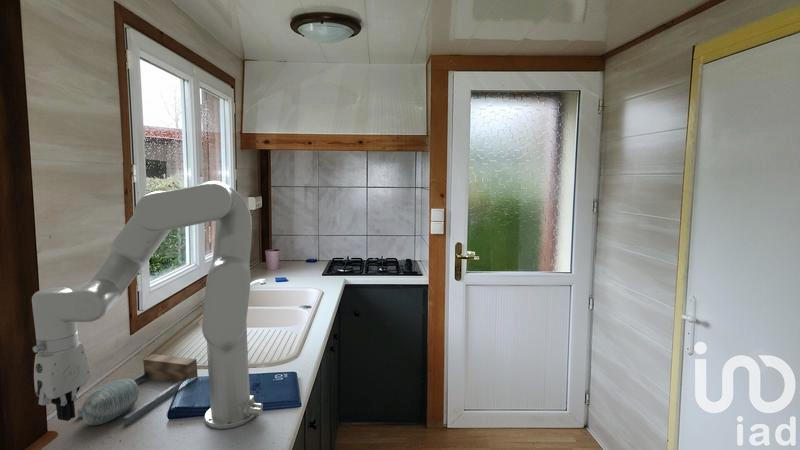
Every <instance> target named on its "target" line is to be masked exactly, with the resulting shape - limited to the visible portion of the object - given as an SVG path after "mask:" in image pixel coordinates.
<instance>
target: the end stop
mask: <svg viewBox="0 0 800 450" xmlns="http://www.w3.org/2000/svg"><path fill="white" fill-rule="evenodd" d="M197 361H198V360H197V358H192V357H190V358H189V357H182V356H172V355H162V354H156V353H153V354H150V355H148V356H147V357H146V358H145V357H144V358H143V361H142V363H143V373H144V372H147V373H148V379H147V380H154V381H163V382H168V383H169V382H171V383H177V382H178V381H180V380H181V379H183V378H184V377H187V378H188V379H191V378H194V377H198V365H197V364H198V363H197ZM198 378H199V377H198Z"/></svg>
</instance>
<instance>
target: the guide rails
mask: <svg viewBox="0 0 800 450" xmlns="http://www.w3.org/2000/svg"><path fill="white" fill-rule="evenodd" d="M132 380H133V381H135V382H136V384H137V385H138V386H139V385H141V384H142V383H144V382H145V381H147V380H149V379H148V373H147V372H144V371H143V372H142V373H140V374H139V375H137V376H135V377H133V378H132ZM186 380H188V378H187V377H184V378H183V379H181V380H180V381H178V382H177V383H176V382H174V384H172V385H171V386H169V387H168V388H166V389H165V390H163V391H162V392H160V393H158V394H157V395H156V396H153V397H152V398H151V399H149V400H148V401H146V402H144V403H143V404H142V405H140V406H137V408H136V409H134V410H132V411H131V412H129V413H128V414H126V415H125V416H123V425H124V426H129V425H131V424H132V423H134V422H135V421H137V420H138V419H140V418H141V417H143V416H144V415H146V414H148V412H150V411H152V410H153V409H155V408H156V407H157V406H159V405H161V404H162V403H163V402H164V401H166V400H167V399H168V400H169V398H170V397H172V396H173V395H175V394H176V393H177V392H176V391H177V390H178V388H179V386H180V385H181V384H182V383H183V382H184V381H186ZM76 411H77V417H79V418H80V419H83V418H82V407H80V408H79V409H77V410H76Z"/></svg>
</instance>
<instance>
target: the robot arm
mask: <svg viewBox="0 0 800 450" xmlns="http://www.w3.org/2000/svg"><path fill="white" fill-rule="evenodd" d="M211 222H214V223H215V230H214V231H215V234H214V246H213V253H212V254H213V255H212V261H211V265H210V267H209V269H208V272H207V277H206V283H205V290H204V291H205V292H204V301H203V312H202V321H201V332H202V335H203V338H204V339H205V340H206V349H207V350H206V353H207V370H208V371H207V373H208V383H209V385H208V386H209V387H208V388H209V401H210V402H209V403H210V408H209V409H208V410H206V412H205V414H204V422H205V424H206V425H207V426H208V427H210V428H212V429H220V430H221V429H222V430H223V429H233V428H236V427H239V426H242V425H245V424H247V423H248V422H250V421H252V420H253V419H254V418H255V417H256V416H257V417H261V416H262V415H263V409H264V403H262V402H255V396H254V395H251V392H250V390H251V388H250V373H249V371H250V370H249V353H248V352H249V350H248V349H249V347H248V329H247V328H248V326H247V325H248V324H247V318H248V317H247V316H248V310H249V309H248V308H249V302H250V301H249V300H250V294H251V293H250V291H251V289H250V288H251V282H252V281H251V279H252V278H251V269H250V261H251V260H250V259H251V251H252V250H251V249H252V248H251V247H252V234H253V233H252V232H253V222H252V215H251V211H250V208H249V206H248V204H247V202H246V201H245V199H244V198H243V196H242V195H241V194H240V193H239V192H238V191H237V190H235V189H234V188H233V187H231V186H230V185H229V184H226V183H224V182H222V181H219V180H209V181H207V182H203V183H202V184H198V185H191V186H188V187H182V188H177V189H172V190H165V191H164V190H156V191H152V192H149V193H147V194H145V195H143V196H142V197H141V198H140V199H139V200H138V201H137V203H136V205H135V208H134V213H133V214H132V215H131V217H130V218H129V219H128V221H127V222H126V224H125V225H124V226H123V227H122V229H121V230H120V232H119V233H118V234H117V235H116V236H115V238H114V239H113V241H112V242H111V245H110V247H111V248H110V253H109V255H108V256H107V258H106V259H105V261H104V263H103V264H102V265H101V267H100V268H99V269H98V271H97V272H96V274H95V275H94V276H93V278H92V279H91V280H90V281H89V282H88V284H86V285H84V286H83V287H81V288H80V289H77V290H74V291H73V290H72V289H71V288H70V287H66V286H57V287H56V286H55V287H48V288H44V289H41V290H38V291H36V292H35V293H33V295H32V296H31V305H32V315H33V321H34V330H35V331H34V332H35V339H36V345H35V346H32V351H33V352H34V353H36V354H35V357H34V365H33V366H34V367H33V382H34V391H35V395H36V397H37V398H38V405H40V406H47V405H51V404H52V405H54V406H56V417H57V419H58V420H60V421H65V422H69V421H70V420H72V419H74V418H76V409H75V400H76V399H77V394H78V392H79V391H80V389H81V388H83V386H85V385H86V384H87V383H88V382H89V381H90V380H91V369H90V363H89V359H88V354H87V351H86V349H85V346H84V344H83V341H79V340H80V339H79V333H78V331H79V330H78V323H91V322H95V321H98V320H100V319H102V318H103V317H105V315H106V314H107V313H108V312H109V311H110V309H111V308H113V307H114V306H115V304H116V303H117V302H118V301H119V300H120V298H121V297H122V296H123V294H124V293H125V291H126V290H127V289H128V287H129V286H130V284H131V283H132V281H134V279H135V277H136V276H137V275H138V273H139V272H140V271H141V270H142V269H143V267H145V266H146V265H147V264H148V263H149V261H150V259H151V258H152V257H153V255H154V254H155V252H156V251H157V250H158V248H159V247H160V246H161V244H162V243H164V241H165V239H166V238H167V236H168V235H169V234H170V232H171V231H172V230H175V229H177V230H178V229H182V228H187V227H191V226H195V225H196V226H197V225H200V224H201V225H202V224H204V223H205V224H206V223H211ZM77 322H78V323H77Z"/></svg>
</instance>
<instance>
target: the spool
mask: <svg viewBox="0 0 800 450" xmlns="http://www.w3.org/2000/svg"><path fill="white" fill-rule="evenodd" d="M132 379H133V378H132ZM132 379H131V378H121V379H116V380H114V381H111V382H108V383H106V384H103V385H102V386H99V387H98V388H97V389H95V390H94V391H92V392H91V393H90V394H88V396H87V397H86V398H85V400H84V402H83V404H82V407H81V408H82V418H81V419H83V421H84V423H85V424H88V425H89V426H99V425H103V424H107V423H108V422H110V421H112V420H115V419H116V418H118V417H120V416H122V415H123V414H124V413H126V412H128V410H131V408H132V407H133V406H134V405H135V404H136V402H137V401H138V397H139V385H137V384H136V382H135V381H133V380H132Z"/></svg>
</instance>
